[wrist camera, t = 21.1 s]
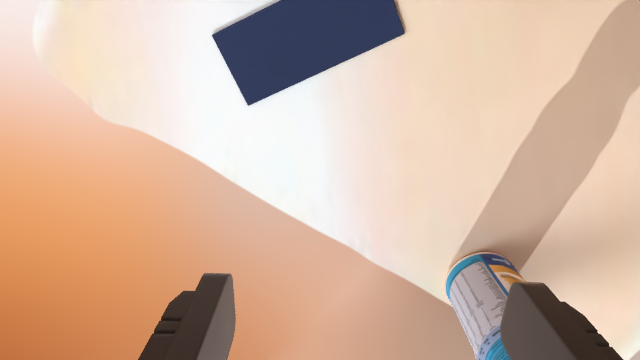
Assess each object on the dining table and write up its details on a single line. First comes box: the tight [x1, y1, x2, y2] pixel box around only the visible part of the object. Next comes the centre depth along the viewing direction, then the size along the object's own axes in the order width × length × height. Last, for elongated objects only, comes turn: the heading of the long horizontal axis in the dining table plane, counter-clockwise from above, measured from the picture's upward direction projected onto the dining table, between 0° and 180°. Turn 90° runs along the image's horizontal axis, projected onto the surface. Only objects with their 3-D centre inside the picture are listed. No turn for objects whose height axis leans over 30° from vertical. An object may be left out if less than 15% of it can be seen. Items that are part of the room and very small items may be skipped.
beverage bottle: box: [445, 252, 526, 360], centre depth 36 cm, size 8×8×20 cm
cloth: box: [212, 0, 404, 106], centre depth 35 cm, size 16×7×1 cm, turn 114°
